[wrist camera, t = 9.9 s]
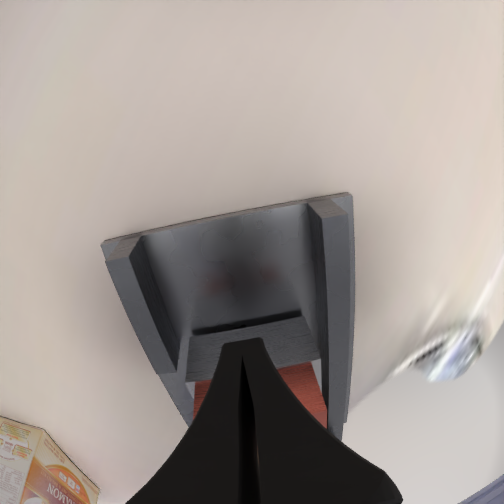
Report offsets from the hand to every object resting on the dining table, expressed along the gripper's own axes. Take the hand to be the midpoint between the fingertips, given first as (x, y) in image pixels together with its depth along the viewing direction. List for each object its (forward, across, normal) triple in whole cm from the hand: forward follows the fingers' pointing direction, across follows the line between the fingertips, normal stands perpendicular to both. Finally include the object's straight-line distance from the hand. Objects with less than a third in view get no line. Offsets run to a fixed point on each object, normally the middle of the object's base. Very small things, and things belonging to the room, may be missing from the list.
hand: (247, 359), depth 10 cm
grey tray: (+4, 0, +5) cm, 6 cm away
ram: (+4, 0, +3) cm, 5 cm away
